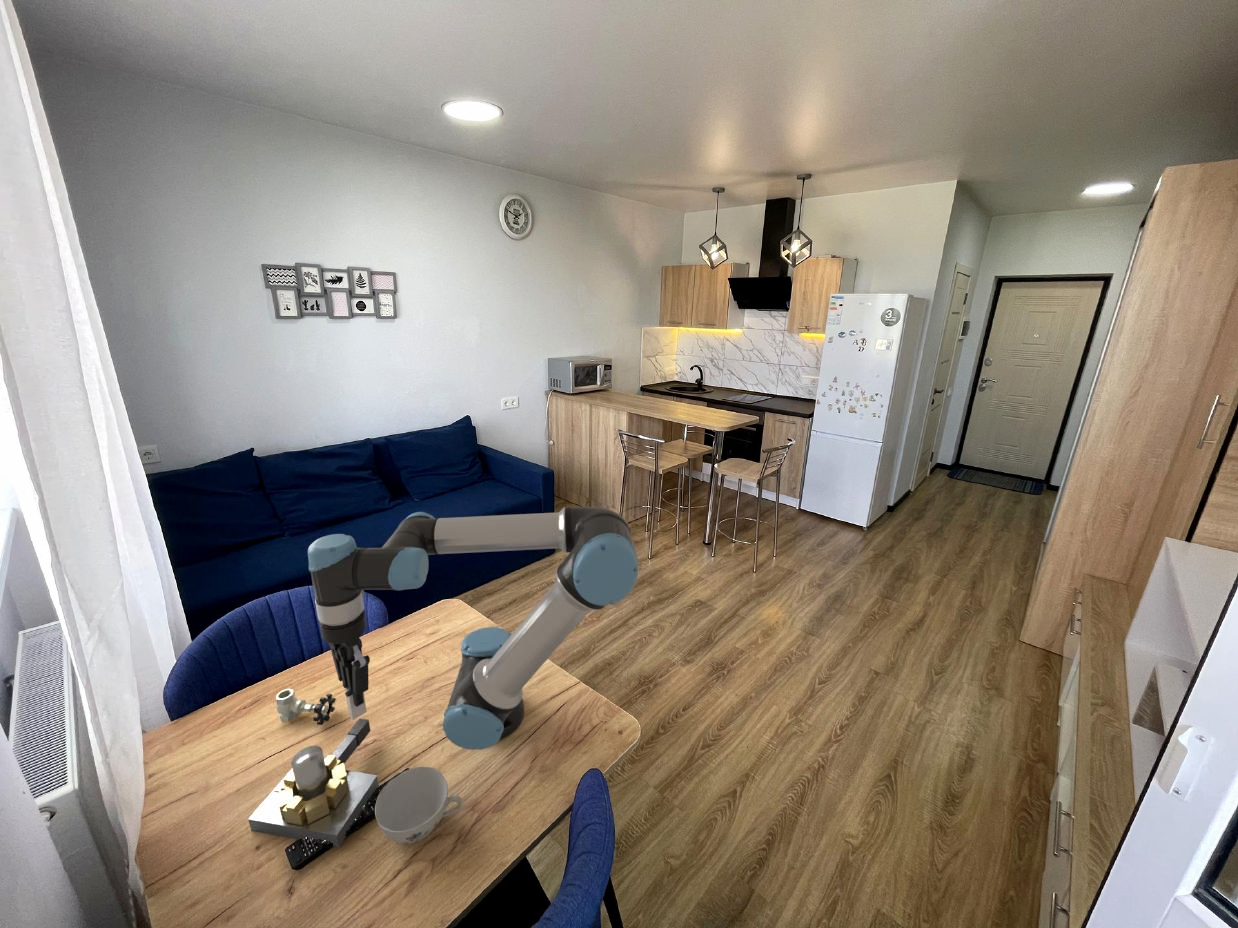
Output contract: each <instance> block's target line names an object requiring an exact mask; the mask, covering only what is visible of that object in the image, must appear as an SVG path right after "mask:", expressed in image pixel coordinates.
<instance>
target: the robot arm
mask: <svg viewBox="0 0 1238 928" xmlns="http://www.w3.org/2000/svg"><path fill="white" fill-rule="evenodd" d="M631 532H632V531H631V528H630V526H629V524H628V522H627V521H626V520H625V518H623V516H621V515H620V514H619V513H618V512H615V511H614V510H612V509H609V508H604V507H597V506H573V507H571V506H570V507H565V506H564V507H563V508H562V509H561V510H560V511H559V512H544V513H540V512H539V513H525V514H523V513H520V514H519V513H518V514H501V515H499V514H498V515H484V516H483V515H479V516H478V515H477V516H462V517H461V516H459V517H439V518H436V517H434V516H433V515H432V514H430V513H427V512H425V511H417V512H413V513H411V514H410V515H408V516H407V517H406V518H404V519H403V520H402V521H401V522H400V523H399V525H398V526H397V528H396V529H395V531H394V532H393V533H392V535H391V536H389V538H388V539H387V541H386V542H385V543H384V544H383V545H382V547H358V546H357V544H356V541H355V538H353V536H351V535H348V534H345V533H334V534H327V535H325V536H322V537H320V538H317V539H316V540H315V541H313V542H312V543H311V544H310V545H309V546H308V549H307V558H308V571H309V573H310V576H311V577H310V578H311V581H312V582H311V583H312V587H313V592H314V598H315V600H314V603H315V607H316V608H315V609H316V614H317V620H318V622H319V628H320V633H321V639H322V640H323V641H324V642H326V643H327V644H328V646H329V648H330V652H331V656H332V658H333V662H334V667H335V670H336V675H337V679H338V681H339V682H342V687H343V688H344V690H345V692H344V694H345V697H346V703H347V710H348V715H349V717H350V718H351V720H352V721H353V720H356V719H358V718H359V717H361V716H363V715H364V714H365V713H367V706H366V698H365V692H367V691H369V663H370V661H371V658H370V656H369V655H368V654H367V655H363V651H362V649H363V648H362V647H363V642H362V639H361V637H362V635H363V634H364V633H365V632H366V629H367V626H368V625H367V617H366V611H365V606H364V598H363V595H364V594H365V591H364V590H366V591H367V590H368V591H369V590H372V591H374V590H375V591H378V590H380V591H404V590H412V589H413V590H414V589H415V590H416V589H420V588H421V587H422V586H424V584H425V582H426V580H427V575H429V574H428V572H429V565H430V563H429V556H431V555H446V554H449V555H450V554H465V553H466V554H468V553H486V552H487V553H488V552H506V551H507V552H508V551H525V550H527V551H529V550H531V551H532V550H546V549H547V550H549V549H550V550H551V549H561V551H563V552H564V553H565V554H566V553H567V554H568V555H567V556H566V557H565V558H564V560H562V561H561V563H560V564H559V565H558V566H557V568H556V570H555V576H556V581H555V582H554V583H553V584H552V586H551V587H550V589H548V591H547V592H546V593H545V594H544V596H543V597H542V598H541V599H540V600H539V602H538V603H536V605H535V606H534V608H532V610H531V611H530V612H529V614H527V615H526V616H525V618H524V619H523V621H522V622H521V623H520V624H519V625H518V626H517V628H516V629H515V630H513V632H512V633H511V632H510V631H508V630H506V629H505V628H502V627H495V626H490V627H482V628H479V629H476V630H474V631H471V632H470V633H468V634H467V635H466V636H465V637H464V638H463V639H462V641H461V648H460V652H461V657H462V658H461V664H460V668H459V670H458V673H457V677H456V679H455V683H454V686H453V689H452V691H451V695H450V698H449V701H448V704H447V707H446V709H445V711H444V713H443V714H444V718H443V722H442V729H443V732H444V734H445V737H446V738H447V739H448V740H449V742H451V743H452V744H454V745H455V746H457V747H459V748H461V749H465V750H471V751H476V750H478V751H479V750H480V751H481V750H486V749H489V748H491V747H493V746H494V745H496V744H497V743H498V742H499V741H500V740H502V739H505V738H507V737H509V736H510V735H512V734H513V733H514V732H515V731H516V730H518V728H519V727H520V725H521V724H522V721H523V720H524V715H525V702H524V698H523V694H524V692H523V691H524V690H523V688H524V687H525V685H527V683H528V682H529V681H530V680H531V679H532V677H534V675H535V674H536V673H537V672H538V671H539V670H540V668H542V666H543V665H544V664H545V663H546V661H547V660H548V659H549V658H550V657H551V656H552V654H554V652H555V651H556V650H557V649H558V648H559V647H560V646H561V645H562V643H564V641H565V640H566V639H567V637H568V636H569V635H570V634H571V633H572V632H573V631H574V629H576V627H577V626H578V625H579V624H580V623H581V622H582V621H583V619H584V618H585V617H586V616H587V615H588V614H589V612H590V611H592V612H593V611H595V612H598V611H601V610H603V609H604V608H605V607H606V606H608V605H609V604H616V603H619V602H621V601H622V600H624V599H625V598H627V597H628V596H629V594H630V593H631V592H632V590H633V589H634V587H635V585H636V583H637V580H638V575H639V557H638V554H637V551H636V549H635V547H634V542H633V538H632V533H631Z"/></svg>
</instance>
